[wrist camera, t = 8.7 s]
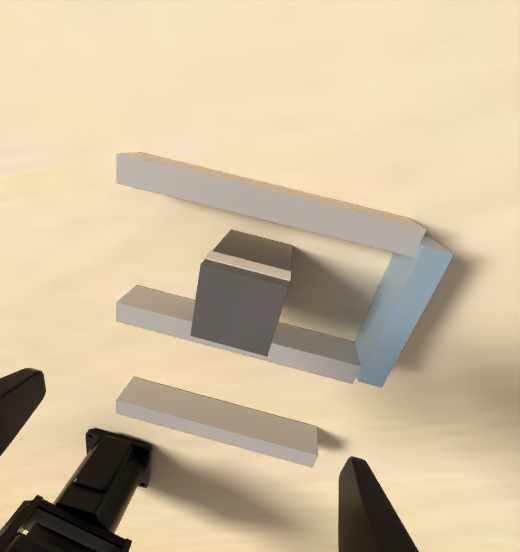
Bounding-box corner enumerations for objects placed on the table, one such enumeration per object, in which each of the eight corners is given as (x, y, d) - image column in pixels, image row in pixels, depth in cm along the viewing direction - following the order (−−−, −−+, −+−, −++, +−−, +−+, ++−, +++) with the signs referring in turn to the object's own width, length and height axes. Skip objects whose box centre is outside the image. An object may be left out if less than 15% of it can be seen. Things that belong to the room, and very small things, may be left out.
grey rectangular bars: (328, 443, 25) (331, 479, 22) (132, 389, 25) (112, 418, 23) (435, 224, 16) (462, 239, 14) (141, 152, 17) (110, 153, 14)
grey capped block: (277, 300, 20) (268, 357, 14) (220, 284, 20) (189, 336, 15) (293, 244, 18) (289, 286, 13) (230, 228, 18) (199, 263, 13)
